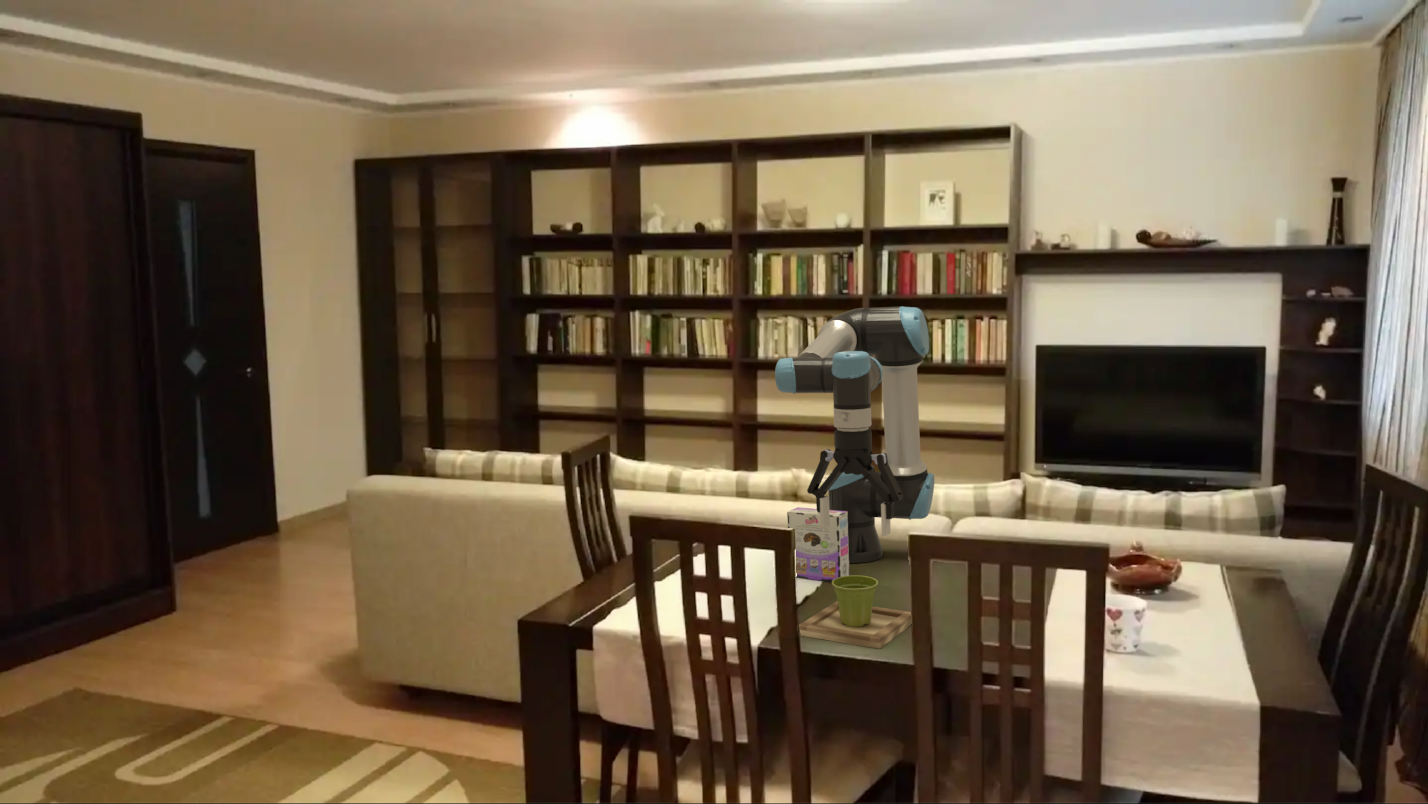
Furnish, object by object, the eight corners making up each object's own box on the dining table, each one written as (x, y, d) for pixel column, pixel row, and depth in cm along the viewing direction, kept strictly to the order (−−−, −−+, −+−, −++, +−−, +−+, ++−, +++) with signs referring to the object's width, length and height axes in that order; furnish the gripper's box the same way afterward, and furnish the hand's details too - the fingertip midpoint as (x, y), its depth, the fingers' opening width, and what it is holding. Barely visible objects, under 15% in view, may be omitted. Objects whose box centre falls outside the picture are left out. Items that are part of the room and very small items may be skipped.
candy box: (850, 577, 255) (849, 510, 253) (839, 583, 250) (838, 515, 248) (799, 570, 262) (797, 505, 260) (788, 576, 257) (786, 510, 255)
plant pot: (877, 630, 213) (876, 588, 212) (830, 629, 215) (829, 587, 214) (879, 615, 222) (879, 575, 221) (834, 614, 224) (834, 574, 223)
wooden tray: (837, 609, 231) (836, 601, 230) (914, 621, 221) (914, 612, 221) (797, 634, 215) (797, 625, 215) (879, 648, 206) (879, 638, 206)
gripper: (789, 428, 217) (792, 529, 220) (903, 434, 203) (905, 541, 206) (806, 422, 223) (809, 521, 226) (918, 428, 210) (919, 532, 212)
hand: (855, 531), depth 216 cm, fingers open, 13 cm apart
